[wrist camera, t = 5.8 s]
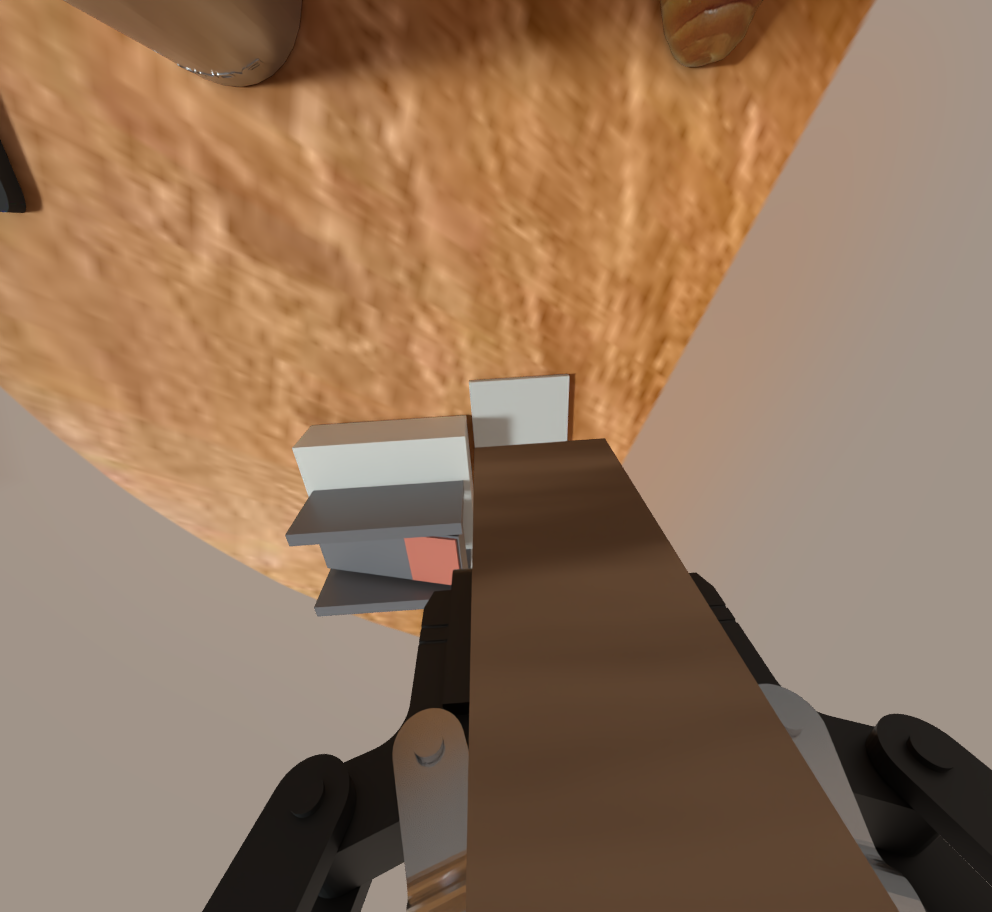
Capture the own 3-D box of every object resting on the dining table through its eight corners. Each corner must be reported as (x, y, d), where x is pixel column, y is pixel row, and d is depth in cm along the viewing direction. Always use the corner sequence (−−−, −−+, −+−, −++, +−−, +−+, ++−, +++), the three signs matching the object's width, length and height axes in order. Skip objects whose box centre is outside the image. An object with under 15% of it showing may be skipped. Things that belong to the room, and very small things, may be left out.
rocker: (320, 511, 32) (309, 522, 31) (463, 526, 30) (457, 538, 29) (335, 558, 35) (326, 569, 34) (468, 575, 32) (464, 588, 31)
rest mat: (469, 380, 33) (468, 382, 32) (568, 374, 33) (569, 375, 32) (476, 465, 36) (476, 468, 36) (565, 459, 37) (566, 462, 36)
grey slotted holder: (311, 425, 34) (258, 487, 26) (466, 415, 34) (462, 474, 26) (354, 566, 42) (324, 648, 33) (480, 557, 42) (480, 637, 34)
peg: (474, 447, 14) (462, 1107, 3) (604, 438, 14) (995, 1066, 3) (484, 547, 16) (494, 1141, 6) (597, 539, 16) (822, 1117, 6)
